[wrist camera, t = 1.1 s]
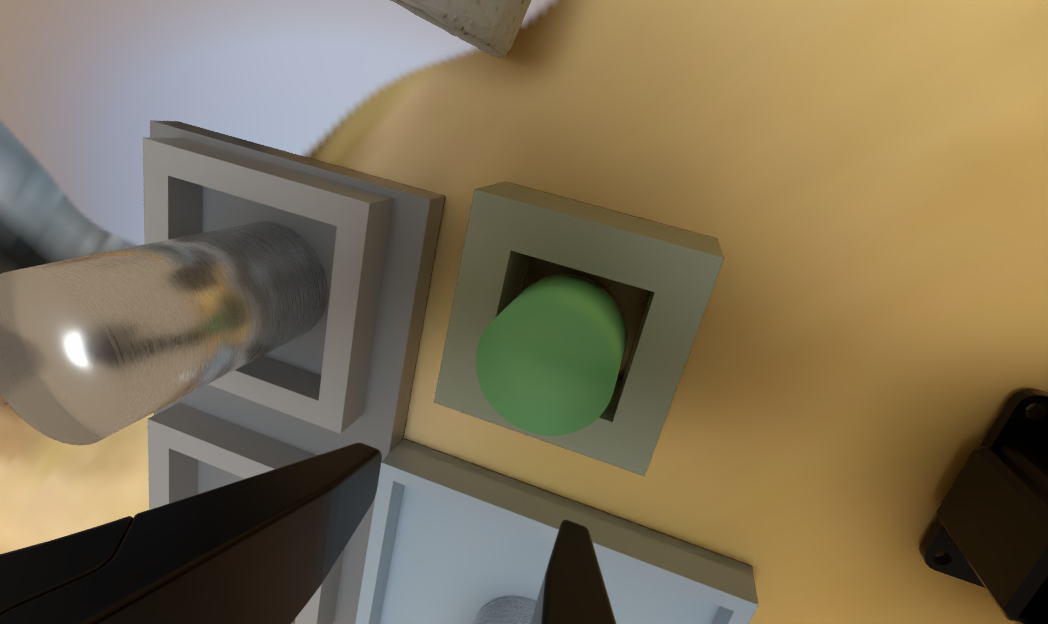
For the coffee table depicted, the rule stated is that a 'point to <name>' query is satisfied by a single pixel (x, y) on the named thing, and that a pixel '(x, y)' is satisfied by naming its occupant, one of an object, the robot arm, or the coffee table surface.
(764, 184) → the coffee table surface
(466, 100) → the coffee table surface
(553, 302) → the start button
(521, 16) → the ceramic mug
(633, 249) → the square socket block
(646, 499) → the coffee table surface
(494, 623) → the cylinder
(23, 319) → the seated billet
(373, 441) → the grey flat frame
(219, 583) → the robot arm
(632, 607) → the blue gray square tray
